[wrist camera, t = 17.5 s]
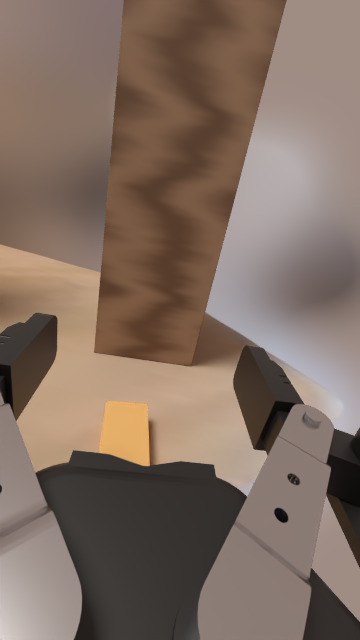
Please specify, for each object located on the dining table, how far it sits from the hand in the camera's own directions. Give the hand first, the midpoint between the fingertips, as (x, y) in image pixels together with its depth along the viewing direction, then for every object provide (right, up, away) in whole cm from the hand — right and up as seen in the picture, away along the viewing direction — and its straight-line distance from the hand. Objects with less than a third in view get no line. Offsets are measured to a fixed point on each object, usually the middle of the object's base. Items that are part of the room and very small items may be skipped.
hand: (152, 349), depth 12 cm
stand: (-3, 0, +22) cm, 22 cm away
